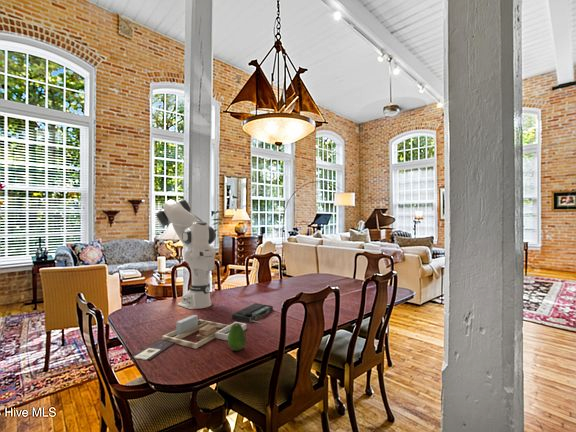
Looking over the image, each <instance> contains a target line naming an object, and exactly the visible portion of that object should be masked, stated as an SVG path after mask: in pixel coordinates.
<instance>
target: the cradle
mask: <svg viewBox="0 0 576 432" xmlns="http://www.w3.org/2000/svg"><path fill="white" fill-rule="evenodd" d="M235 323H238V324H240V325H241V327H242V329H243V331H245V330H247V327H248V326H247V323H246V322H245V323H243V322H240V321H239V322H238V321H233V323H231V324H228V325H229V326H227V327H225V328H220V329H219V330H218V332H216V333H215V338H214V339H218V340H219V339H220V340H224V341H228V336H229V332H230V329H231V327H232V325H233V324H235Z"/></svg>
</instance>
